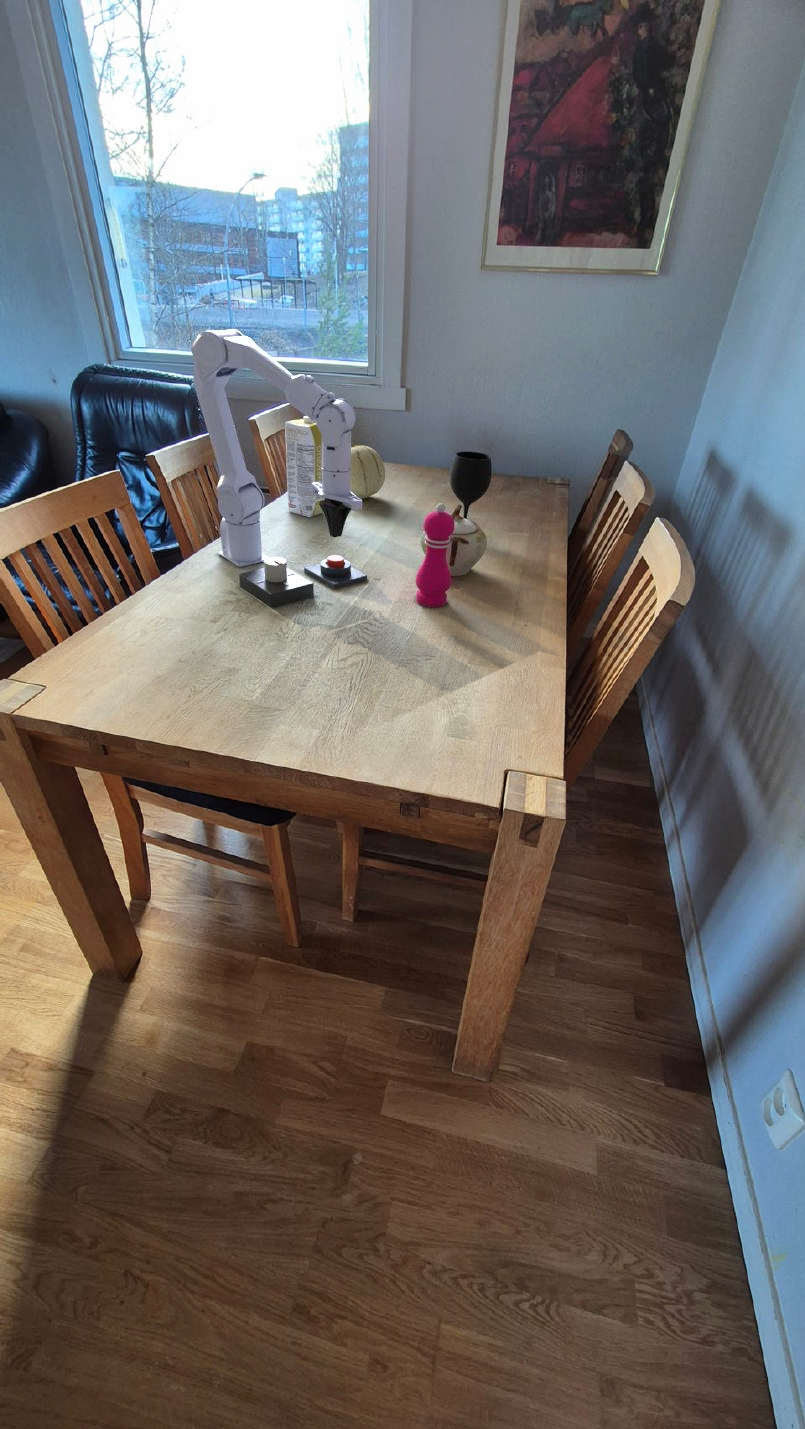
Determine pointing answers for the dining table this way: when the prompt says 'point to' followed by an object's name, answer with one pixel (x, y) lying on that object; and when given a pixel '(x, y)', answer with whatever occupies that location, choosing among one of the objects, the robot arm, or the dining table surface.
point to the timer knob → (275, 569)
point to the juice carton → (303, 466)
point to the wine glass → (470, 477)
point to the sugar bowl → (462, 545)
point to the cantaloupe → (366, 471)
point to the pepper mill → (435, 559)
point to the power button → (335, 561)
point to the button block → (335, 574)
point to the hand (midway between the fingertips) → (335, 536)
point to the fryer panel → (276, 587)
